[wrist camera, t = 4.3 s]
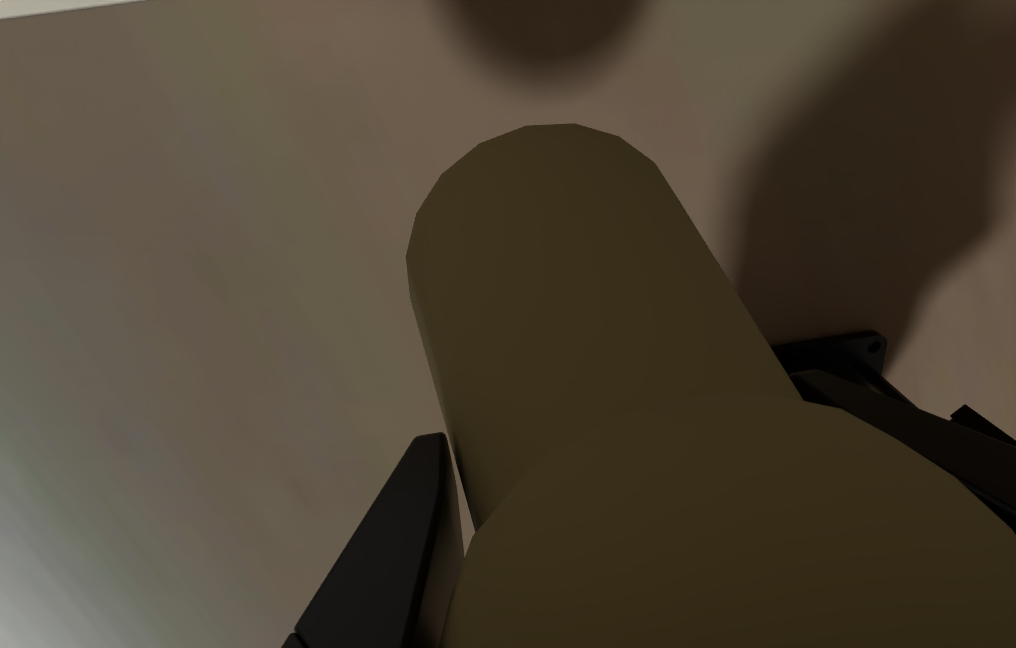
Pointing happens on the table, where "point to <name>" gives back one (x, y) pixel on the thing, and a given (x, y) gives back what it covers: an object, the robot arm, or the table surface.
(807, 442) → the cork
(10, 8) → the tray
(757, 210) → the table surface
